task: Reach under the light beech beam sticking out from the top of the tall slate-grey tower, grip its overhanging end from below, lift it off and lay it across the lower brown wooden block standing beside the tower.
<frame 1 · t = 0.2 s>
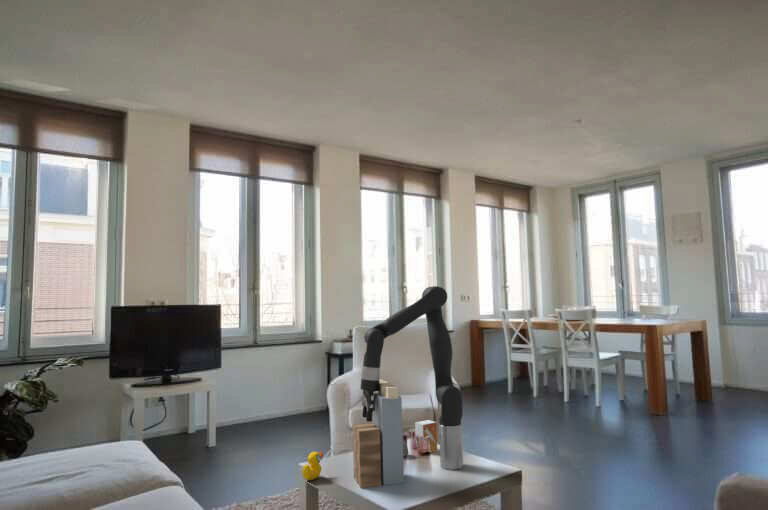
hand: (367, 419, 201), 22 cm above the table, tool pointing down, fingers open, 8 cm apart
mineral specimen: (399, 456, 225), on the table
brown wooden block: (367, 481, 193), on the table
beam: (385, 393, 201), point 32 cm above the table, touching tall tower
duckling: (313, 479, 198), on the table
tall tower: (389, 478, 195), on the table
small box: (426, 451, 231), on the table
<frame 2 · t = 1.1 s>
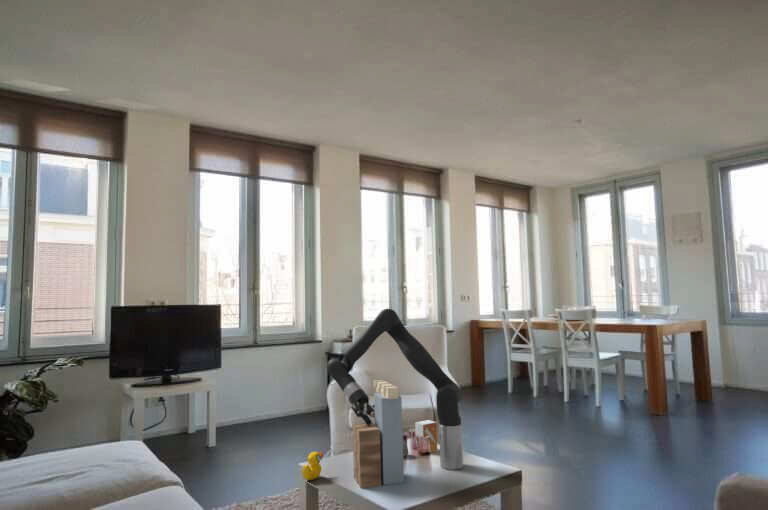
hand: (376, 424, 200), 20 cm above the table, tool tilted 55°, fingers open, 8 cm apart
nothing on the table moved.
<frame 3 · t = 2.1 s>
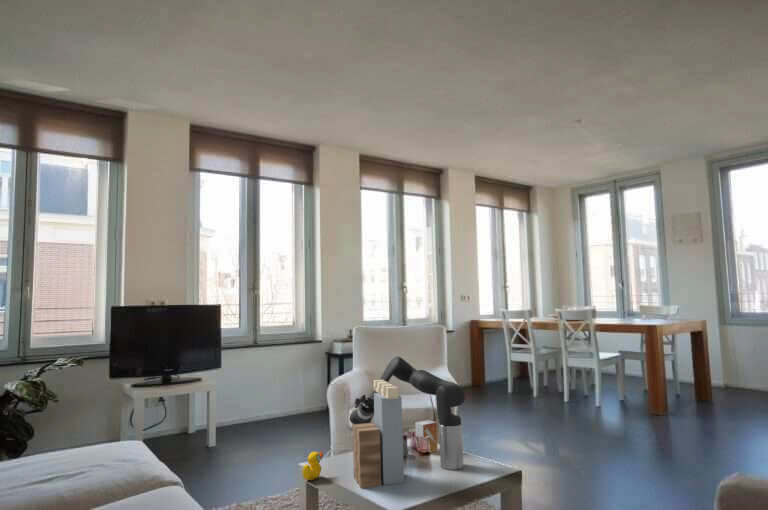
hand: (374, 396, 218), 28 cm above the table, tool pointing upward, fingers open, 8 cm apart
nothing on the table moved.
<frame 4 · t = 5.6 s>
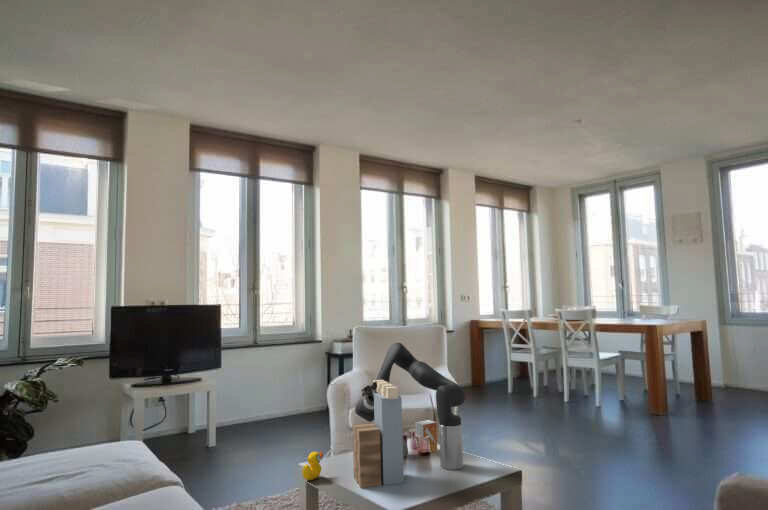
hand: (381, 383, 207), 35 cm above the table, tool pointing upward, fingers closed on beam, 4 cm apart
beam: (385, 393, 201), point 32 cm above the table, touching gripper, tall tower
everything else where it was.
when the fingers open (25 cm above the table, at t = 15.5 s): beam drops 1 cm, resting on brown wooden block.
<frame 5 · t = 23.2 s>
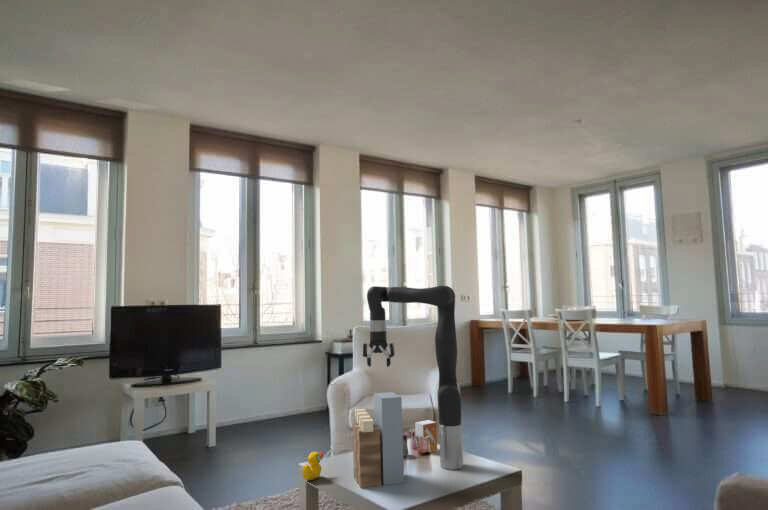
hand: (379, 366, 226), 40 cm above the table, tool pointing down, fingers open, 8 cm apart
beam: (363, 425, 198), point 20 cm above the table, touching brown wooden block
everything else where it was.
at the end: beam inside the target area on the brown wooden block (0.2 cm from its centre), point 20.5 cm above the brown wooden block's base; beam tilted 0°; the gripper is holding nothing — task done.
